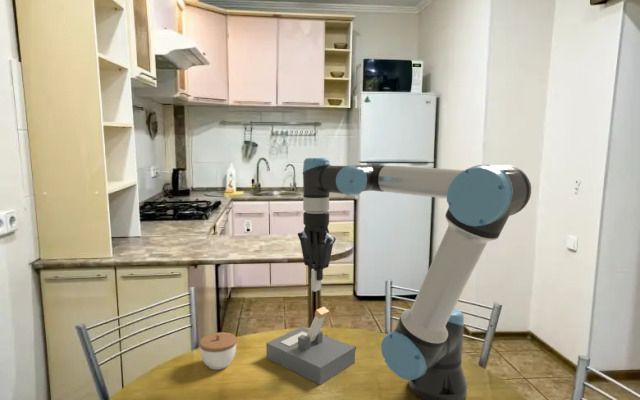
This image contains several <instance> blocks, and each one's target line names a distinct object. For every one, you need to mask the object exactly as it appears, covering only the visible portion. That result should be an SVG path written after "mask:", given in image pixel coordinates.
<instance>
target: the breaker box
mask: <svg viewBox="0 0 640 400" xmlns="http://www.w3.org/2000/svg"><path fill="white" fill-rule="evenodd" d="M309 329H310V328H307V327H305V326H300V327H298V328H296V329H293V330H291V331H290V332H287V333H285V334H283V335H280V336H278V337H276V338H274V339H272V340H270V341H268V342H266V359H267V360H268V361H269V360H270V361H271V362H273V363H275V364H278V365H279V366H282V367H284V368H286V369H288V370H289V371H292V372H293V373H295V374H297V375H299V376H302V377H304V378H305V379H308V380H310V381H311V382H313V383H316V384H318V385H319V386H320V385H322V384H324V383H325V382H328V381H329V380H331V379H332V378H333V377H335V376H336V375H338V374H339V373H341V372H342V371H344V370H346V369H347V368H349V367H351V366H353V364H355V362H356V359H355V358H356V350H355V347H353V346H354V345H350V344H349V343H345V342H342V341H341V340H337V339H335V338H334V337H331V336H328V335H327V336H325V335H326V334H324V333H323V330H321V329H320V330H319V332H318V334H317V337H316V339H315V340H314V341H312V342H310V338H309V337H307V334H308V331H309Z"/></svg>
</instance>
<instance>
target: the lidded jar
mask: <svg viewBox="0 0 640 400" xmlns="http://www.w3.org/2000/svg"><path fill="white" fill-rule="evenodd" d="M199 348H200V350H199V351H200V357H201V360H202V361H203V363H204V364H205V365H206V366H207V367H208V368H209V369H211V370H215V371H217V370H224V369H226V368H227V367H228V366H229V365H230V364H231V362H232V361H233V360H234V359H235V355H236V353H237V352H236V351H237V337H236V335H234V334H233V333H230V332H225V331H224V332H223V331H222V332H213V333H209V334H207V335H205V336H202V338H201V339H200V340H199Z"/></svg>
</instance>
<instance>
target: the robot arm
mask: <svg viewBox="0 0 640 400" xmlns="http://www.w3.org/2000/svg"><path fill="white" fill-rule="evenodd" d="M302 181H303V182H302V183H303V184H302V186H303V188H302V189H303V192H302V193H303V198H302V199H303V202H302V203H303V204H302V205H303V206H302V209H303V211H304V212H303V218H302V219H303V221H302V222H303V225H304V228H303V230H302V231H301V232H298V233H297V237H298V238H299V241H300V246H301V248H300V249H301V253H302V257H303V263H304V265H305V266H307V267H308V268H309V279H311V280H310V281H311V282H310V283H311V287H310V288H311V292H317V291H318V292H319V291H320V290H322V280H323V279H324V278H323V276H324V275H323V274H324V273H323V270H324V269H326V268H329V266H330V260H331V255H332V251H333V246H334V244H335V242H336V240H337V239H336V237H335V236H332V235H330V229H329V228H328V227H329V225H330V213H329V210H330V193H333V194H334V193H335V194H341V195H342V194H343V195H346V196H350V195H352V196H353V195H354V196H355V195H360V194H361V193H362V192H370V191H374V192H383V193H385V192H386V193H394V194H395V193H396V194H401V195H402V194H403V195H404V194H405V195H412V196H420V197H421V196H422V197H429V198H439V199H446V203H447V204H448V208H447V211H446V213H445V219H446V221H447V224H448V226H447V228H446V230H445V233H444V235H443V237H442V240H441V241H440V244H439V246H438V248H437V250H436V252H435V255H434V257H433V260H432V262H431V264H430V266H429V268H428V271H427V272H426V274H425V277H424V279H423V282H422V284H421V286H420V289H419V291H418V292H417V295H416V297H415V299H414V301H413V304H412V306H411V307H410V308H406V309H405V310H403V311H402V313H401V315H400V316H399V319H398V322H397V323H396V326H395V327H394V329H393V330H392V331H390V332H388V333H387V334H386V335H385V336H384V337H383V338H382V341H381V346H380V348H381V350H380V351H381V356H382V357H383V358H384V362H385V364H386V366H387V367H388V368H389V369H390V371H391V372H392V373H394V374H395V375H396V376H397V377H398V378H400V379H403V380H405V381H409V382H408V383H409V384H408V386H409V388H410V390H411V392H412V393H413V394H414V395H415V396H416V397H418V398H420V399H422V400H465V399H466V398H467V396H468V395H467V394H468V384H467V380H466V376H465V373H464V368H463V366H462V358H463V357H462V356H463V343H464V330H465V323H464V321H465V320H464V318H465V317H464V314H463V312H462V311H461V310H460V309H458V308H457V307H456V306H457V304H458V302H459V300H460V298H461V296H462V294H463V292H464V290H465V288H466V285H467V284H468V281H469V279H470V278H471V276H472V274H473V271H474V270H475V268H476V266H477V264H478V262H479V260H480V257H481V256H482V253H483V252H484V250H485V248H486V245H487V243H488V242H491V241H494V240H497V239H499V237H500V235H501V233H502V231H503V229H504V227H505V226H506V224H507V221H508V219H509V218H510V217H511V216H514V215H515V214H518V213H519V212H521V211H522V210H523V209H524V208H525V207H527V205H528V203H529V201H530V199H531V196H532V185H531V181H530V179H529V177H528V175H527V174H526V173H525V172H524V171H523V170H522V169H520V168H518V167H517V166H514V165H512V164H505V163H504V164H503V163H500V164H492V165H490V164H477V165H474V166H471V167H469V168H467V169H453V168H437V167H419V166H417V167H416V166H401V165H384V164H379V163H372V164H363V165H362V164H358V165H331V164H330V159H329V158H327V157H307V158H305V159H304V160H303V167H302Z"/></svg>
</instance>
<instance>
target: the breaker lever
mask: <svg viewBox="0 0 640 400" xmlns="http://www.w3.org/2000/svg"><path fill="white" fill-rule="evenodd" d="M329 312H330V310H328V308H326V306H322V307H319V308H318V309H316V310H315V311H314V318H313V320H312V323H311V325H310V327H309V328H308V329H309V331H308V334H307V337H309V338H310V342H312V341H314V340H315V339H316V337H317V334H318V332H319V330H320V331H321V327H322V325H323V322H324V321H325V318H326V317H327V316H328V315H329Z"/></svg>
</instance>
